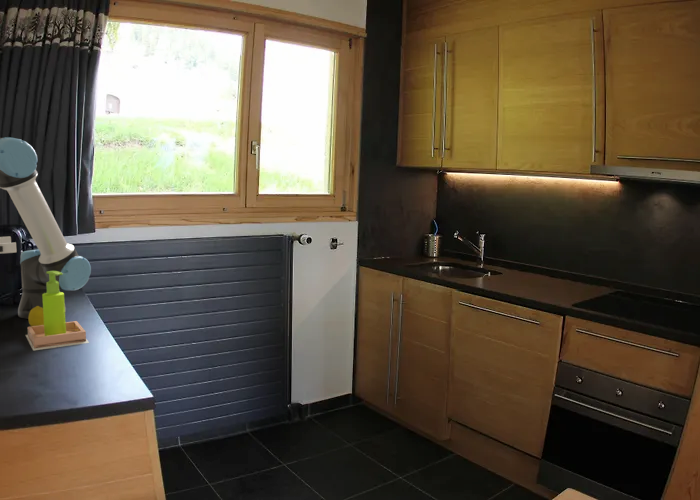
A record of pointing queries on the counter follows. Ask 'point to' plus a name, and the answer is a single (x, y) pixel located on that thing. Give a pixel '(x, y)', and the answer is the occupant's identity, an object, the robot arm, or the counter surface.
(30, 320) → the lemon
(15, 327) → the counter surface
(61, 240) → the robot arm
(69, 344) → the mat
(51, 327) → the soap dispenser
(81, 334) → the dish
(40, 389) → the counter surface
